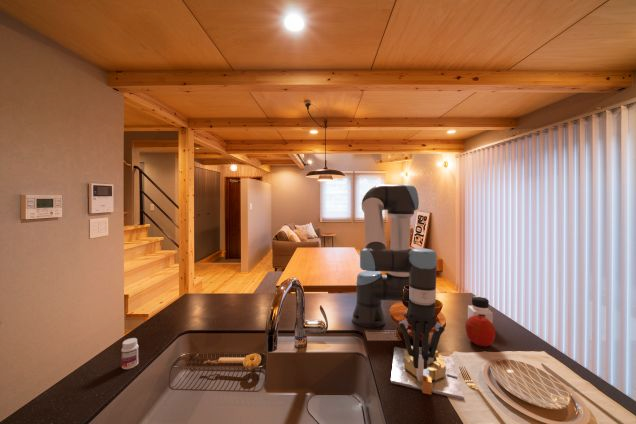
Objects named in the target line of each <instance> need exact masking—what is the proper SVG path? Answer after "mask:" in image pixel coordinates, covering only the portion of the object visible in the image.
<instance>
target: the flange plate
mask: <svg viewBox="0 0 636 424" xmlns="http://www.w3.org/2000/svg"><path fill="white" fill-rule="evenodd" d="M419 347H420V346H419ZM405 350H407V348H402V347H397V346H394V348H393V358H392V368H391V376H390V383H391V384H394V385H400V386H404V387H407V388H412V389H416V390H420V391H422V381H418V379H417V376H415V375H414V374H412V373H411V372H410V371H408V370H407V369H406V368H405V367H404V358H405ZM419 354H420V355H422V346H421V347H420V348H419ZM441 356H442V357H443V358H444V361H445V365H446V375H445V376H444V377H441V378H439V379H437V380H434V379H433V380H431V381H432V392H431V393H434V394H437V395H442V396H446V397H450V398H456V399H459V400H463V401H465V400H464V399H465V397H464V391H463V389H462V386H461V382H460V379H459V375H458V372H457V367H456V364H455V361H454V358H453V357H451V356H445V355H441ZM428 359H429V360H428V361H427V365H430V366H431V365H433V362H434V358H431V357H430V358H428Z"/></svg>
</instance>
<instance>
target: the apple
mask: <svg viewBox="0 0 636 424" xmlns="http://www.w3.org/2000/svg"><path fill="white" fill-rule="evenodd" d="M464 329H465V332H466V335H467V338H468V339H469V340H470V341H471V343H473V344H475V345H477V346H478V347H488V346H490V345H493V343H494V340H495V338H496V328H495V326H494V323H493V324H492V323H491V322H490V321H489V320H488V319H487V318H485V317H483V316H481V315H480V316H478V315H474V316H472V317H470V318H469V319H468V318H467V319H466V321H465V326H464Z"/></svg>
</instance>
